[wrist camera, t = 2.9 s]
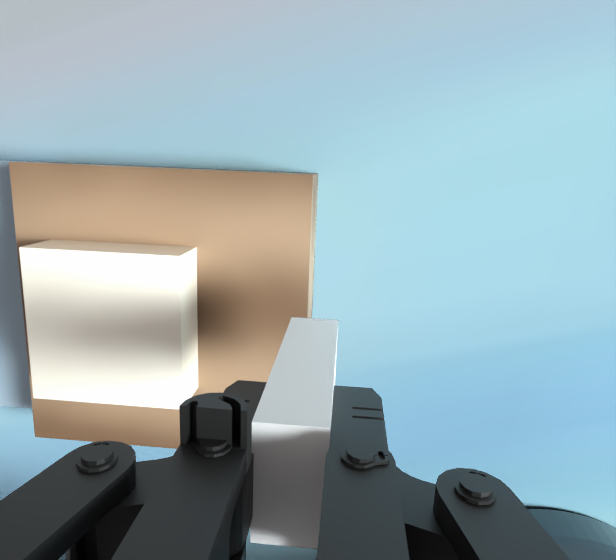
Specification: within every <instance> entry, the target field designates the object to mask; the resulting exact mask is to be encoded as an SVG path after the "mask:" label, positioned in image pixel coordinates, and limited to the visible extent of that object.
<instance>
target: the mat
mask: <svg viewBox="0 0 616 560" xmlns="http://www.w3.org/2000/svg"><path fill="white" fill-rule="evenodd" d="M9 162H30V161H6V160H0V406H9V407H21V408H32V399H31V389H30V378H29V368H28V357H27V347H26V336H25V326H24V316H23V305H22V295H21V284H20V274H19V263H18V253H17V243H16V232H15V222H14V211H13V201H12V190H11V180H10V169H9Z"/></svg>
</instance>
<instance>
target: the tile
mask: <svg viewBox="0 0 616 560" xmlns="http://www.w3.org/2000/svg"><path fill="white" fill-rule="evenodd" d="M19 252H20V262H21V273H22V283H23V294H24V304H25V315H26V325H27V336H28V346H29V357H30V367H31V378H32V389H33V398H37V399H50V400H63V401H76V402H89V403H102V404H114V405H127V406H140V407H153V408H166V409H179V405H181V404H182V403H183V402H184V401H185V400H187V399H189V398H191V397H192V396H193V394H194V393H195V391H196V390H197V388H198V321H197V247H183V246H164V245H145V244H127V243H108V242H90V241H71V240H52V239H51V240H47V241H43V242H39V243H35V244H31V245H26V246H22V247H19Z"/></svg>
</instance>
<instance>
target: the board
mask: <svg viewBox="0 0 616 560" xmlns="http://www.w3.org/2000/svg"><path fill="white" fill-rule="evenodd" d="M9 169H10V180H11V190H12V201H13V211H14V222H15V232H16V243H17V253H18V263H19V274H20V284H21V295H22V305H23V316H24V326H25V336H26V347H27V357H28V368H29V378H30V389H31V399H32V409H33V420H34V430H35V437H44V438H56V439H68V440H80V441H92V442H98V441H101V442H102V441H116V442H123V443H125V444H127V445H139V446H151V447H163V448H175V449H178V447H179V445H180V414H179V409H166V408H153V407H140V406H127V405H114V404H102V403H89V402H76V401H63V400H50V399H37V398H33V389H32V378H31V367H30V357H29V346H28V336H27V325H26V315H25V304H24V294H23V283H22V273H21V262H20V252H19V247H22V246H26V245H31V244H35V243H39V242H43V241H47V240H51V239H52V240H71V241H90V242H108V243H127V244H145V245H164V246H183V247H197V321H198V388H197V390H196V391H195V393H194V394H193V396H192V397H194V396H196V395H200V394H205V393H223V392H224V390H225V389H226V388H227V387H228V386H230V385H231V384H233V383H235V382H236V381H238V380H244V381H258V382H267V381H268V378H269V375H270V373H271V370H272V367H273V365H274V362H275V360H276V357H277V354H278V352H279V349H280V346H281V344H282V341H283V338H284V336H285V333H286V331H287V328H288V325H289V323H290V320H291V317H297V318H312V301H313V278H314V255H315V232H316V209H317V186H318V174H316V173H292V172H268V171H245V170H221V169H197V168H173V167H149V166H125V165H102V164H78V163H54V162H9Z"/></svg>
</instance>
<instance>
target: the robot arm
mask: <svg viewBox="0 0 616 560" xmlns="http://www.w3.org/2000/svg"><path fill="white" fill-rule="evenodd" d="M337 335H338V320H329V319H313V318H297V317H291V320H290V323H289V325H288V328H287V331H286V333H285V336H284V338H283V341H282V344H281V346H280V349H279V352H278V354H277V357H276V360H275V362H274V365H273V367H272V370H271V373H270V375H269V378H268V381H267V382H258V381H244V380H238V381H236V382H235V383H233V384H231V385H230V386H228V387H227V388H226V389H225V390H224V392H223V393H205V394H200V395H196V396H194V397H191V398H189V399H187V400H185V401H184V402H183V403H182V404H181V405H179V414H180V445H179V447H178V449H177V450H176V452H175V454H174V455H173V456H171V457H168V458H163V459H158V460H149V461H141V462H136V456H135V451H134V450H133V449H132V447H131V446H129V445H127V444H125V443H123V442H116V441H102V442H101V441H98V442H93V443H91V444H87V445H84V446H81V447H79V448H77V449H75V450H73V451H71V452H70V453H68V454H67V455H65V456H64V457H62V458H61V459H59V460H58V461H57V462H55V463H54V464H52V465H51V466H49V467H48V468H47V469H45V470H44V471H42V472H41V473H39V474H38V475H37V476H35V477H34V478H32V479H31V480H29V481H28V482H27V483H25V484H24V485H22V486H21V487H19V488H18V489H17V490H15V491H14V492H12V493H11V494H10V495H8V496H7V497H5V498H4V499H2V500H1V501H0V560H58V559H59V558H60V557H61V556H62V555H63V554H64V553H65V555H66V560H246V539H247V535H248V531H249V528H250V543H259V544H270V545H280V546H290V547H301V548H311V549H317V560H616V528H614V527H612V526H610V525H608V524H606V523H604V522H601V521H599V520H596V519H593V518H590V517H587V516H583V515H579V514H575V513H570V512H565V511H558V510H549V509H527V508H526V507H525V506H524V505H523V503H522V502H521V501H520V500H519V499H518V498H517V496H516V495H515V494H514V493H513V492H512V490H511V489H510V488H509V487H507V486H506V485H505V484H504V483H503V482H502V481H501V480H499V479H497V478H495V477H493V476H491V475H489V474H487V473H485V472H482V471H477V470H475V469H464V468H456V469H451V470H447V471H445V472H444V473H442V474H441V475H439V476H438V479H437V482H436V484H432V483H429V482H426V481H422V480H419V479H417V478H414V477H411V476H410V475H408V474H406V473H404V472H402V471H401V470H400V469H399V468H397V467H396V464H395V460H394V458H393V456H392V454H391V453H390V452H389V451H388V445H387V437H386V430H385V422H384V414H383V407H382V399H381V397H380V396H379V395H378V394H377V393H376V392H375V391H374V390H373V389H372V388H360V387H347V386H335V371H336V353H337Z"/></svg>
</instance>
